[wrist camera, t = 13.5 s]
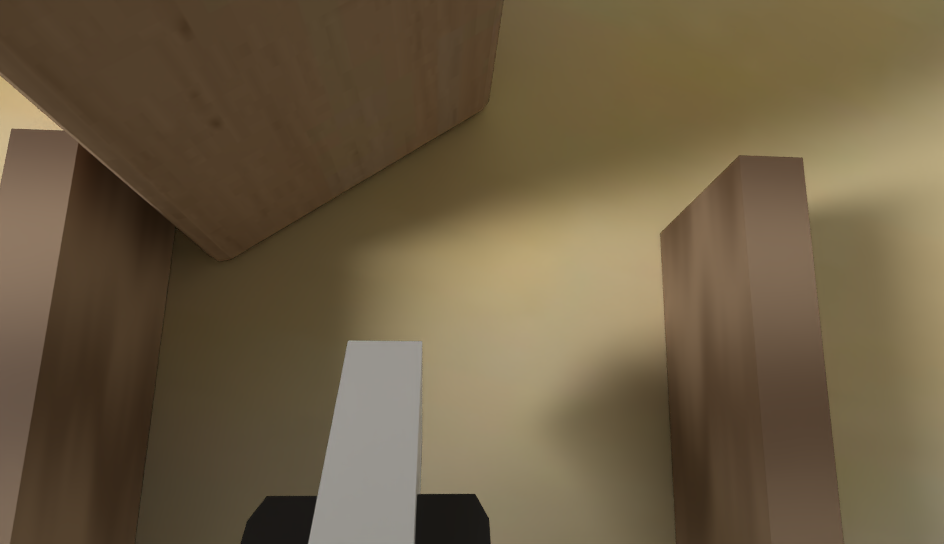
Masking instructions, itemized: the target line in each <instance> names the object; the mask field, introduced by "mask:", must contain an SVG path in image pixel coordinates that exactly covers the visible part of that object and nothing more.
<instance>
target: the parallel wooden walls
mask: <svg viewBox="0 0 944 544" xmlns="http://www.w3.org/2000/svg"><path fill="white" fill-rule="evenodd" d="M175 227H176V226H174V225H173V224H172V223H171V222H170V221H169V220H168V219H166V218H165V217H164V216H163V215H162V214H161V213H159V212H158V211H157V210H156V209H155V208H154V207H152V206H151V205H150V204H149V203H148V202H147V201H145V200H144V199H143V198H142V197H141V196H140V195H138V194H137V193H136V192H135V191H134V190H133V189H131V188H130V187H129V186H128V185H127V184H126V183H125V182H123V181H122V180H121V179H120V178H119V177H118V176H116V175H115V174H114V173H113V172H112V171H111V170H109V169H108V168H107V167H106V166H105V165H104V164H102V163H101V162H100V161H99V160H98V159H97V158H95V157H94V156H93V155H92V154H91V153H90V152H88V151H87V150H86V149H85V148H84V147H83V146H82V145H80V144H79V143H78V142H77V141H76V140H75V139H73V138H72V137H71V136H70V135H69V134H68V133H66V132H65V131H59V130H31V129H11V134H10V139H9V144H8V149H7V154H6V159H5V164H4V169H3V174H2V179H1V184H0V544H135V537H136V529H137V521H138V514H139V506H140V498H141V490H142V483H143V475H144V467H145V459H146V452H147V444H148V436H149V428H150V421H151V413H152V405H153V397H154V390H155V382H156V374H157V367H158V359H159V351H160V343H161V336H162V328H163V320H164V312H165V305H166V297H167V289H168V281H169V274H170V266H171V258H172V250H173V243H174V235H175ZM660 237H661V256H662V276H663V296H664V315H665V335H666V354H667V374H668V394H669V413H670V433H671V452H672V472H673V492H674V511H675V531H676V544H844V541H843V531H842V522H841V513H840V503H839V494H838V484H837V475H836V466H835V456H834V447H833V438H832V428H831V419H830V410H829V400H828V391H827V381H826V372H825V363H824V353H823V344H822V335H821V325H820V316H819V307H818V297H817V288H816V278H815V269H814V260H813V250H812V241H811V232H810V222H809V213H808V204H807V194H806V185H805V175H804V166H803V158H796V157H769V156H741V155H739V156H738V157H737V158H736V159H735V160H734V161H733V162H732V163H731V164H730V165H729V166H728V167H727V168H726V169H725V170H724V171H723V172H722V173H721V174H720V175H719V176H718V177H717V178H716V179H715V180H714V181H713V182H712V183H711V184H710V185H709V186H708V187H707V188H706V189H705V190H704V191H703V192H702V193H701V194H700V195H699V196H698V197H697V198H696V199H695V200H694V201H693V202H692V203H691V204H689V205H688V206H687V207H686V208H685V209H684V210H683V211H682V212H681V213H680V214H679V215H678V216H677V217H676V218H675V219H674V220H673V221H672V222H671V223H670V224H669V225H668V226H667V227H666V228H665V229H664V230H663V231H662V232H661V233H660Z"/></svg>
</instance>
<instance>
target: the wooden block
mask: <svg viewBox="0 0 944 544" xmlns="http://www.w3.org/2000/svg"><path fill="white" fill-rule="evenodd" d="M503 1H504V0H0V76H1V77H2V78H4V79H5V80H6V81H7V82H8V83H9V84H11V85H12V86H13V87H14V88H15V89H16V90H18V91H19V92H20V93H21V94H22V95H23V96H25V97H26V98H27V99H28V100H29V101H30V102H32V103H33V104H34V105H35V106H36V107H37V108H39V109H40V110H41V111H42V112H43V113H44V114H45V115H47V116H48V117H49V118H50V119H51V120H52V121H54V122H55V123H56V124H57V125H58V126H59V127H61V128H62V129H63V130H64V131H65V132H66V133H68V134H69V135H70V136H71V137H72V138H73V139H75V140H76V141H77V142H78V143H79V144H80V145H82V146H83V147H84V148H85V149H86V150H87V151H88V152H90V153H91V154H92V155H93V156H94V157H95V158H97V159H98V160H99V161H100V162H101V163H102V164H104V165H105V166H106V167H107V168H108V169H109V170H111V171H112V172H113V173H114V174H115V175H116V176H118V177H119V178H120V179H121V180H122V181H123V182H125V183H126V184H127V185H128V186H129V187H130V188H131V189H133V190H134V191H135V192H136V193H137V194H138V195H140V196H141V197H142V198H143V199H144V200H145V201H147V202H148V203H149V204H150V205H151V206H152V207H154V208H155V209H156V210H157V211H158V212H159V213H161V214H162V215H163V216H164V217H165V218H166V219H168V220H169V221H170V222H171V223H172V224H173V225H174V226H176V227H177V228H178V229H179V230H180V231H181V232H183V233H184V234H185V235H186V236H187V237H188V238H190V239H191V240H192V241H193V242H194V243H195V244H197V245H198V246H199V247H200V248H201V249H202V250H204V251H205V252H206V253H207V254H208V255H210V256H211V257H213V258H214V259H216V260H217V261H224V260H229V259H232V258H234V257H236V256H237V255H239V254H241V253H242V252H244V251H246V250H247V249H249V248H251V247H252V246H254V245H256V244H257V243H259V242H261V241H263V240H264V239H266V238H268V237H269V236H271V235H273V234H274V233H276V232H278V231H279V230H281V229H283V228H284V227H286V226H288V225H289V224H291V223H293V222H295V221H296V220H298V219H300V218H301V217H303V216H305V215H306V214H308V213H310V212H311V211H313V210H315V209H316V208H318V207H320V206H321V205H323V204H325V203H326V202H328V201H330V200H332V199H333V198H335V197H337V196H338V195H340V194H342V193H343V192H345V191H347V190H348V189H350V188H352V187H353V186H355V185H357V184H358V183H360V182H362V181H364V180H365V179H367V178H369V177H370V176H372V175H374V174H375V173H377V172H379V171H380V170H382V169H384V168H385V167H387V166H389V165H390V164H392V163H394V162H395V161H397V160H399V159H401V158H402V157H404V156H406V155H407V154H409V153H411V152H412V151H414V150H416V149H417V148H419V147H421V146H422V145H424V144H426V143H427V142H429V141H431V140H433V139H434V138H436V137H438V136H439V135H441V134H443V133H444V132H446V131H448V130H449V129H451V128H453V127H454V126H456V125H458V124H459V123H461V122H463V121H465V120H466V119H468V118H470V117H471V116H473V115H475V114H476V113H478V112H480V111H481V110H483V108H484V107H485V106H486V104H487V103H488V101H489V97H490V90H491V83H492V76H493V69H494V62H495V56H496V49H497V42H498V35H499V28H500V21H501V15H502V8H503Z"/></svg>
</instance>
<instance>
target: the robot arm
mask: <svg viewBox="0 0 944 544" xmlns="http://www.w3.org/2000/svg"><path fill="white" fill-rule="evenodd" d="M421 460H422V341H348V343H347V348H346V354H345V359H344V364H343V369H342V374H341V379H340V384H339V389H338V394H337V399H336V405H335V410H334V415H333V420H332V425H331V430H330V435H329V440H328V445H327V450H326V455H325V461H324V466H323V471H322V476H321V481H320V486H319V491H318V496H267V497H266V498H265V499H264V501H263V502H262V503H261V504H260V506H259V507H258V508H257V509H256V511H255V512H254V513H253V515H252V516H251V517H250V518H249V520H248V521H247V524H246V527H245V530H244V534H243V537H242V541H241V544H491V542H490V527H489V518H488V516H487V514H486V513H485V511H484V509H483V507H482V505H481V504H480V502H479V500H478V498H477V497H476V495H475V494H420V488H421Z"/></svg>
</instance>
